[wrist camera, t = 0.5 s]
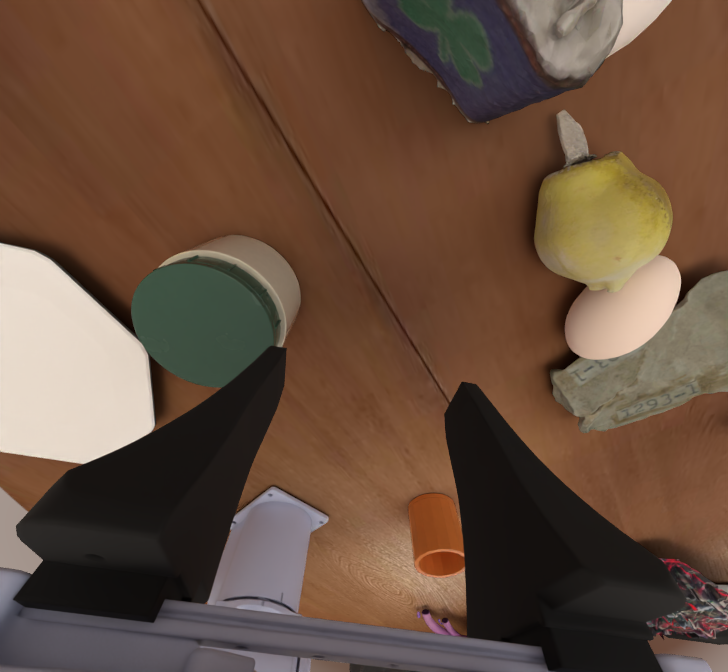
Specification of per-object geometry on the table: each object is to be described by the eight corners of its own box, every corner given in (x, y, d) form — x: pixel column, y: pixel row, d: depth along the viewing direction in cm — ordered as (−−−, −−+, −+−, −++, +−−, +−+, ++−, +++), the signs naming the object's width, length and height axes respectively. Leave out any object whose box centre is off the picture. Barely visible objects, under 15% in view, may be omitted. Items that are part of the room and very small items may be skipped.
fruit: (607, 80, 16) (661, 246, 18) (493, 156, 19) (552, 289, 22) (658, 48, 11) (720, 277, 14) (495, 156, 14) (571, 326, 17)
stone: (590, 454, 25) (540, 372, 22) (571, 429, 28) (524, 352, 24) (824, 368, 20) (805, 245, 17) (775, 346, 23) (750, 236, 19)
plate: (-186, 193, 18) (-229, 194, 17) (152, 268, 21) (138, 274, 19) (-61, 427, 27) (-83, 440, 26) (167, 462, 29) (158, 475, 28)
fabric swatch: (746, 630, 40) (770, 665, 37) (564, 621, 46) (573, 650, 44) (772, 544, 32) (806, 580, 29) (550, 548, 39) (559, 578, 36)
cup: (428, 526, 35) (438, 583, 30) (398, 507, 33) (403, 564, 29) (464, 507, 33) (481, 564, 29) (434, 486, 32) (446, 542, 27)
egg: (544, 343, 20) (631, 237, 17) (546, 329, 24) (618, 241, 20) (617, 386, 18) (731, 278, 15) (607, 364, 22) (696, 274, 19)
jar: (259, 358, 24) (231, 407, 19) (167, 293, 22) (107, 329, 17) (323, 291, 22) (310, 327, 16) (226, 207, 19) (176, 219, 14)
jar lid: (236, 392, 20) (227, 407, 19) (127, 321, 18) (107, 333, 16) (306, 319, 17) (301, 331, 16) (190, 224, 15) (172, 229, 14)
